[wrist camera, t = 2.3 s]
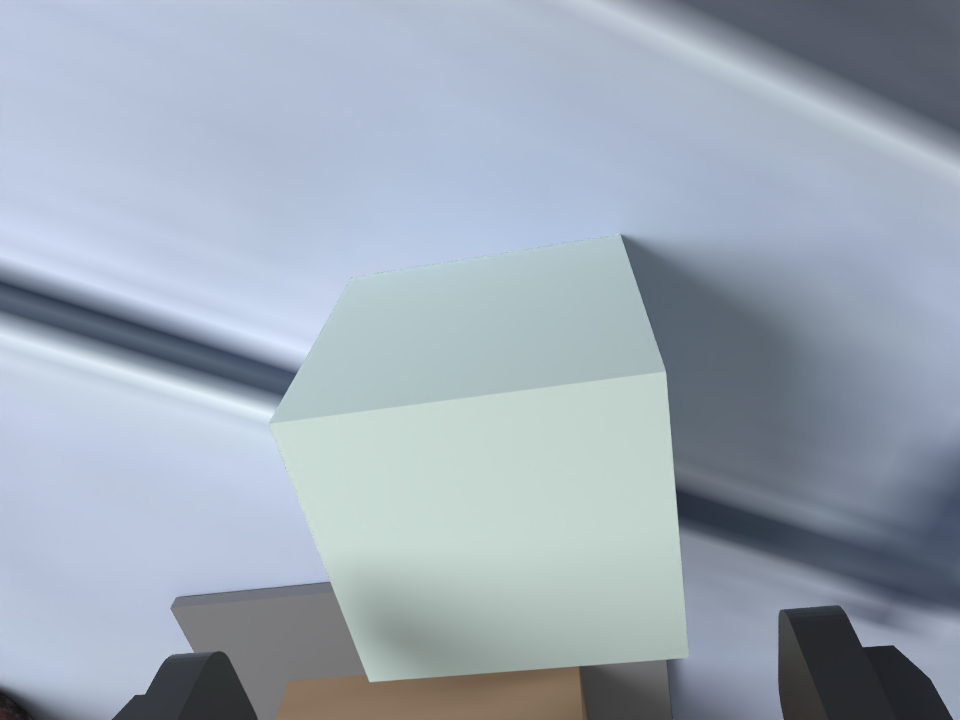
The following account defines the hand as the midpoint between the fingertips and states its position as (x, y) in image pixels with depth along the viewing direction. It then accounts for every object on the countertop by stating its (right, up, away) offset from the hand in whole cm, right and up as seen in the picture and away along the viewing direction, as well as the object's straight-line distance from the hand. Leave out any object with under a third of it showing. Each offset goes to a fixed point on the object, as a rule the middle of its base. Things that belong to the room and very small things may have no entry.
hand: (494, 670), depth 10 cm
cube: (0, +4, +7) cm, 8 cm away
